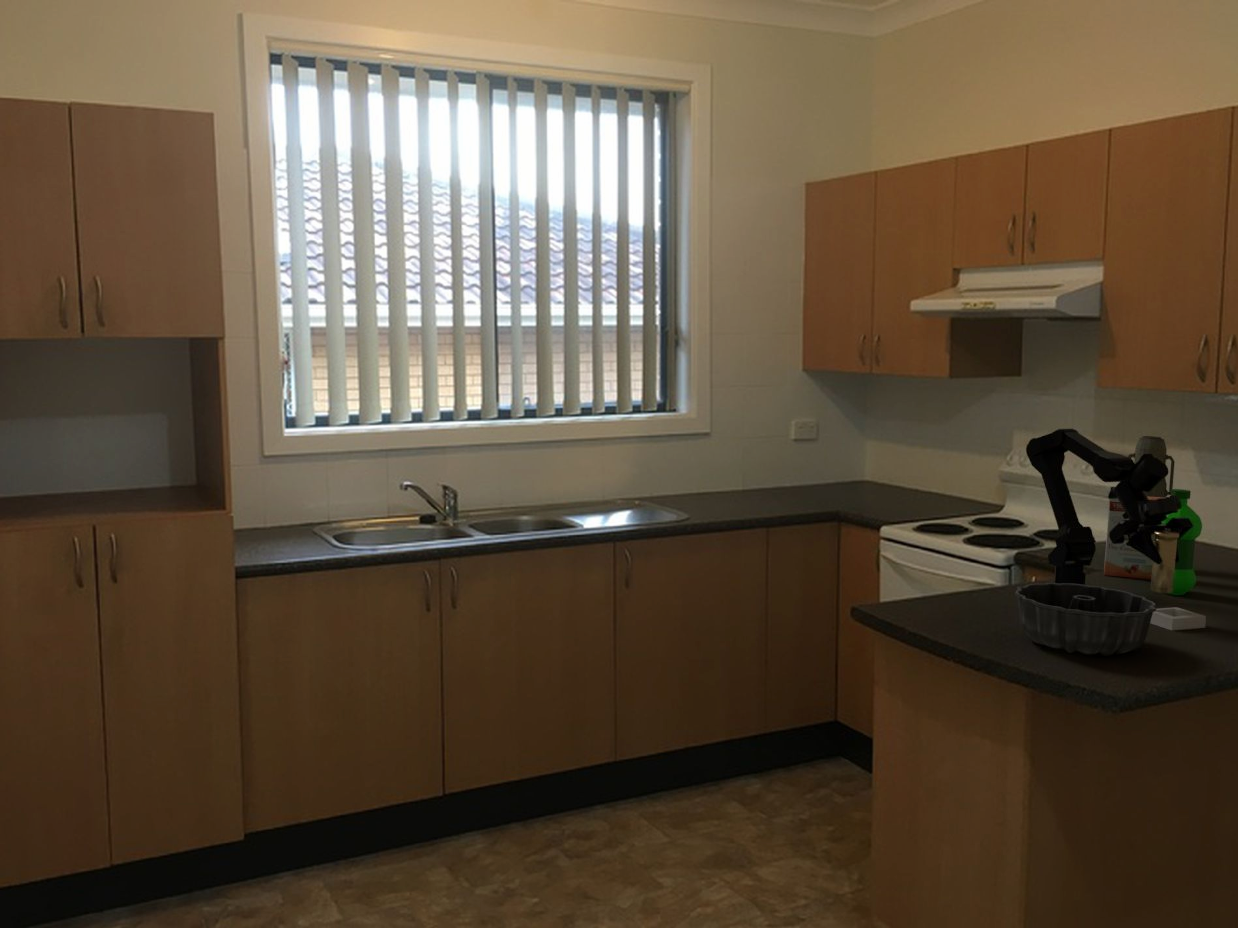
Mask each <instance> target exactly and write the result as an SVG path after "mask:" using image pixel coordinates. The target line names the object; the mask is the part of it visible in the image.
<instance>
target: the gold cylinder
mask: <svg viewBox="0 0 1238 928" xmlns="http://www.w3.org/2000/svg"><path fill="white" fill-rule="evenodd" d="M1154 536H1155V544H1154V545H1155V547H1156V549H1157V551H1158V553H1159V555H1160V558H1161V560H1162V562H1161V563H1160V564H1157V563H1155V562H1154V561H1153V567H1152V578H1151V580H1150V591H1152V592H1154V593H1159V594H1166V593H1172V592H1173V581H1174V570H1175V559H1176V548H1177V538H1179V533H1177V532H1173V531H1166V530H1156V531H1154Z"/></svg>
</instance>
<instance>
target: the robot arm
mask: <svg viewBox="0 0 1238 928" xmlns="http://www.w3.org/2000/svg"><path fill="white" fill-rule="evenodd" d="M1025 452H1026V456H1027V458H1028V460H1029V461H1030V462H1029V463H1030V464H1031V467H1033V468H1034V470H1036V471H1037V472H1038V473H1040V475H1041V477H1042V480H1043V483H1044V486H1045V490H1046V493H1047V496H1048V499H1049V503H1050V506H1051V509H1052V513H1053V516H1054V518H1055V522H1056V525H1057V528H1058V529H1057V532H1056V536H1055V539H1054V540H1055V545H1056V546H1055V547H1054V548H1053V549H1052V550H1051V551H1050V552H1049V554H1047V558H1048V564H1049V565H1052V566H1054V567H1055V569H1054V570H1055V571H1054V583H1057V584H1064V583H1067V584H1081V585H1086V577H1087V576H1086V571H1085V570H1084V566H1085V567H1087V566H1088V567H1089V566H1091V564H1092V561H1093V558H1094V555H1095V553H1096V550H1097V549H1096V547H1097V546H1096V544H1095V543H1096V542H1097V541H1096V539H1095V537H1094V534H1093V529H1092V528H1091V526H1084V525H1083V524H1081V523H1080V520H1079V517H1078V515H1077V512H1076V511H1077V510H1076V508H1075V505H1074V502H1073V499H1072V495H1071V493H1070V489H1069V486H1068V483H1067V481H1066V478H1065V474H1064V472H1063V466H1064V462H1065V458H1066V456H1065V453H1068V452H1071V454H1074V455H1075V456H1076V457H1078V458H1079V459H1081V460H1083V462H1085V463H1087V464H1088V465H1090V466H1091V468H1092V471H1093V473H1094V474H1095V475H1096V476H1097V477H1098V478H1099V479H1100V480H1101V481H1102V482H1104V483H1117V484H1116V485H1115V486H1110V490H1109V493H1108V496H1107V498H1108V499H1118V500H1119V502H1120V504H1121V506H1122V508H1123V509H1124V511H1125V513H1124V514H1123V515H1122V516H1123V518H1124V519H1129V520H1121V521H1120V522H1119V523H1118V524H1117V525H1116V526H1115V527H1114V528H1113V529H1112V530H1111V531H1110V532H1109V538H1110V539H1111V541H1112V543H1113V544H1122V543H1123V542H1124V540H1125V538H1124V536H1123V535H1128V537H1129V538H1128V539H1129V541H1128V542H1127V543H1126V545H1127V546H1131V547H1132V548H1134V549H1136V550H1137V551H1139V552H1140V553H1142V554H1144V555H1145V556H1147V557H1148V558H1149V559H1151V560H1152V561H1154V562H1155V563H1157V564H1160V563H1161V562H1162V560H1161V558H1160V555H1159V553H1158V551H1157V549H1156V547H1155V545H1154V543H1153V541H1152V539H1151V534H1154V531H1156V530H1166V531H1173V532H1177V533H1179V538H1177V540H1178V539H1180V538H1181V537H1182V536H1183V535H1185V534H1186V533H1187V532H1188V531H1189V530H1190V529H1191V528H1192V527H1193V524H1192V523H1191V521H1190V519H1189V518H1185V517H1180V518H1172V519H1171V520H1170V521H1169V522H1168V523H1167V524H1162V523H1161V522H1162V521H1165V520H1166V519H1167V517H1166V515H1168V514H1171V513H1177V512H1178V509H1181V507H1182V505H1181V501H1180V500H1179V498H1178V497H1177V496H1176V495H1173V496H1171V495H1169V496H1166V498H1160V499H1156V500H1149V499H1148V497H1147V495H1146V494H1145V492H1149V491H1152V490H1153V489H1154V488H1155V487H1156V486H1157V485H1158V484H1159V483H1160V482H1161V481H1162V480H1163V479H1164V478H1165V479H1166V477H1167V476H1169V475H1168V474H1169V472H1170V471H1169V468H1168V466H1167V463H1166V464H1164V463H1163V462H1162V461H1160V460H1159V459H1157V458H1154V457H1153V455H1152V454H1143V455H1142V456H1141V458H1140V459H1139V461H1138V462H1137V463H1134V461H1135V460H1133V459H1132V457H1131V458H1129V457H1128V456H1127V455H1124V454H1121V453H1115V452H1111V451H1108V450H1106V449H1104V448H1103V447H1102V446H1099V445H1098V444H1096V443H1095V442H1093V441H1091V440H1090V439H1089V438H1087V437H1085V436H1084V435H1082V434H1081V433H1079V431H1078V430H1076V429H1074V428H1058V429H1056V430H1055V431H1052V432H1050V433H1047V434H1044V435H1040V436H1038V437H1034V438H1031V439H1030V440H1029V441H1028V444H1027V445H1026V447H1025ZM1144 491H1145V492H1144ZM1178 562H1179V554H1178V547H1177V548H1176V559H1175V563H1178Z"/></svg>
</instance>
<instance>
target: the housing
mask: <svg viewBox="0 0 1238 928" xmlns="http://www.w3.org/2000/svg"><path fill="white" fill-rule="evenodd" d="M1206 621H1207V616H1206V615H1204V614H1201V613H1197V612H1193V611H1190V610H1188V609H1183V608H1181V607H1175V606H1173V607H1163V608H1161V607H1160V608H1156V611H1155V612H1153V614H1152V618H1151V621H1150V624H1152V625H1154V626H1157V627H1161V628H1163V629H1166V630H1168V631H1169V630H1170V631H1181V630H1192V629H1194V630H1195V629H1201V628H1202V629H1205V628H1206Z"/></svg>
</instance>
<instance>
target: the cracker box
mask: <svg viewBox="0 0 1238 928" xmlns="http://www.w3.org/2000/svg"><path fill="white" fill-rule="evenodd" d="M1147 497H1148V499H1149V500H1156V499H1160V498H1163V497H1149V496H1147ZM1108 499H1109V498H1108ZM1124 513H1125V511H1124V509H1123V508H1122V506H1121V504H1120V502H1119V500H1118V499H1109V503H1108V514H1107V529H1106V538H1105V539H1106V542H1105V555H1104V567H1103V575H1104V576H1107V577H1108V576H1109V577H1110V576H1111V577H1121V578H1131V579H1139V580H1141V579H1142V580H1150V581H1151V578H1152V567H1153V561H1152V560H1151V559H1149V558H1148V557H1147V556H1145V555H1144V554H1142V553H1140V552H1139V551H1137V550H1136V549H1134V548H1132V547H1131V546H1127V545H1126V543H1127V542H1128V541H1129V539H1128V538H1129V537H1128V535H1123V536H1124V538H1125V540H1124V542H1123V543H1122V544H1113V543H1112V541H1111V539H1110V538H1109V532H1110V531H1111V530H1112V529H1113V528H1114V527H1115V526H1116V525H1117V524H1118V523H1119V522H1120V521H1121V520H1129V519H1124V518H1123V516H1122V515H1123V514H1124ZM1151 539H1152V541H1153V543H1154V544H1155V536H1154V534H1151Z"/></svg>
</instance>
